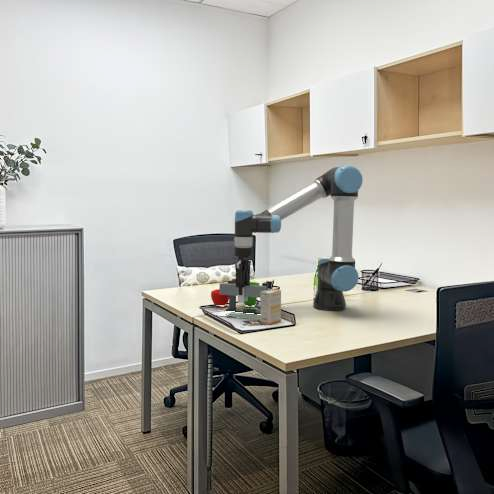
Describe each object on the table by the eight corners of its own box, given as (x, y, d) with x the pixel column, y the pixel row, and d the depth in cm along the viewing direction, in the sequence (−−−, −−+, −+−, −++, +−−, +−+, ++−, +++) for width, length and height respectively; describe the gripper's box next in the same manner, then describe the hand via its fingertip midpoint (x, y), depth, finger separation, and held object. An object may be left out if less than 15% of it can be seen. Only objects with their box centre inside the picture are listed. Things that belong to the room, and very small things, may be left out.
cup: (257, 309, 230) (258, 285, 229) (238, 308, 232) (238, 284, 231) (261, 305, 239) (261, 282, 238) (242, 304, 240) (242, 281, 240)
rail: (266, 296, 212) (266, 285, 212) (263, 297, 209) (263, 287, 208) (222, 293, 219) (222, 282, 218) (219, 294, 216) (219, 284, 215)
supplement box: (271, 319, 210) (272, 288, 208) (281, 321, 207) (281, 289, 205) (259, 323, 203) (260, 291, 202) (269, 325, 200) (269, 292, 199)
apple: (208, 305, 238) (208, 288, 237) (226, 304, 241) (226, 287, 240) (213, 309, 229) (213, 292, 228) (232, 307, 232) (232, 291, 232)
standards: (274, 313, 222) (274, 281, 221) (269, 316, 216) (270, 283, 215) (229, 309, 229) (230, 278, 228) (224, 311, 223) (224, 280, 222)
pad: (269, 317, 214) (269, 315, 214) (264, 320, 208) (264, 319, 208) (222, 312, 222) (222, 311, 222) (215, 315, 215) (215, 314, 215)
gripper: (241, 245, 221) (241, 297, 223) (227, 248, 206) (227, 304, 208) (258, 245, 219) (257, 298, 221) (245, 248, 203) (244, 305, 205)
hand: (242, 301), depth 214 cm, fingers closed on rail, 3 cm apart
